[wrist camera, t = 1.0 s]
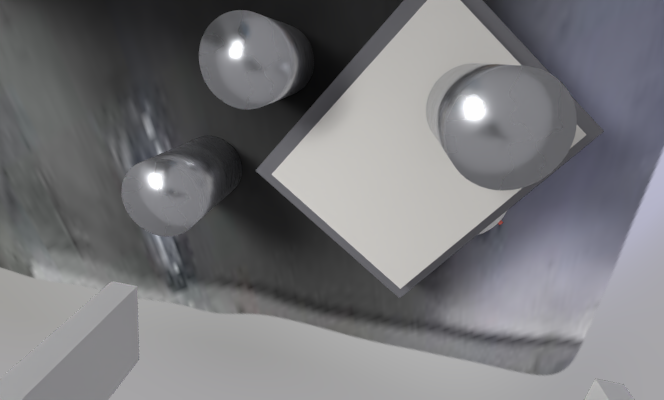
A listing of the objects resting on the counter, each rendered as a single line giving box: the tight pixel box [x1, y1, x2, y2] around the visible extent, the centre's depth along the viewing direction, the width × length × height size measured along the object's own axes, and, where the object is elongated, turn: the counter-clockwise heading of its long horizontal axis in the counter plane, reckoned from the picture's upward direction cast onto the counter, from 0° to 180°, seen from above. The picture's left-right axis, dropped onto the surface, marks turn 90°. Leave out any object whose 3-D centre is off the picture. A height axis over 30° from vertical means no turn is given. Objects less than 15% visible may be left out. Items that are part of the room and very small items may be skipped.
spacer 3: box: [426, 63, 577, 191], centre depth 20 cm, size 5×5×8 cm
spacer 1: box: [122, 136, 242, 237], centre depth 28 cm, size 5×5×8 cm
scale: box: [255, 0, 604, 298], centre depth 27 cm, size 15×17×5 cm
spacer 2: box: [199, 10, 314, 109], centre depth 25 cm, size 5×5×8 cm
